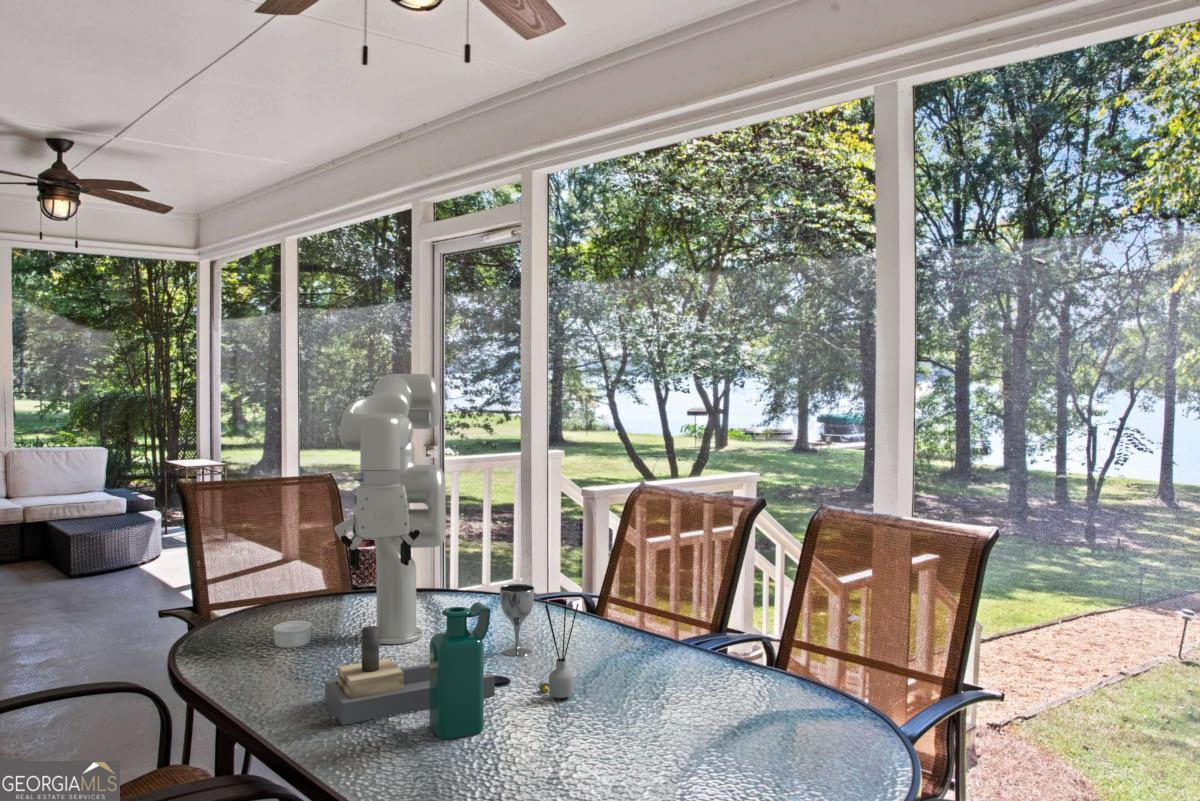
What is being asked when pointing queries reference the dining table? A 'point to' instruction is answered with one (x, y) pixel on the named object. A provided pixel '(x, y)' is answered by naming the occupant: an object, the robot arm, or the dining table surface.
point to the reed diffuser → (559, 668)
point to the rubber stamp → (370, 670)
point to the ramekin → (292, 634)
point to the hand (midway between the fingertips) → (380, 566)
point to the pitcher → (458, 674)
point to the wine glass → (517, 611)
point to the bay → (389, 697)
